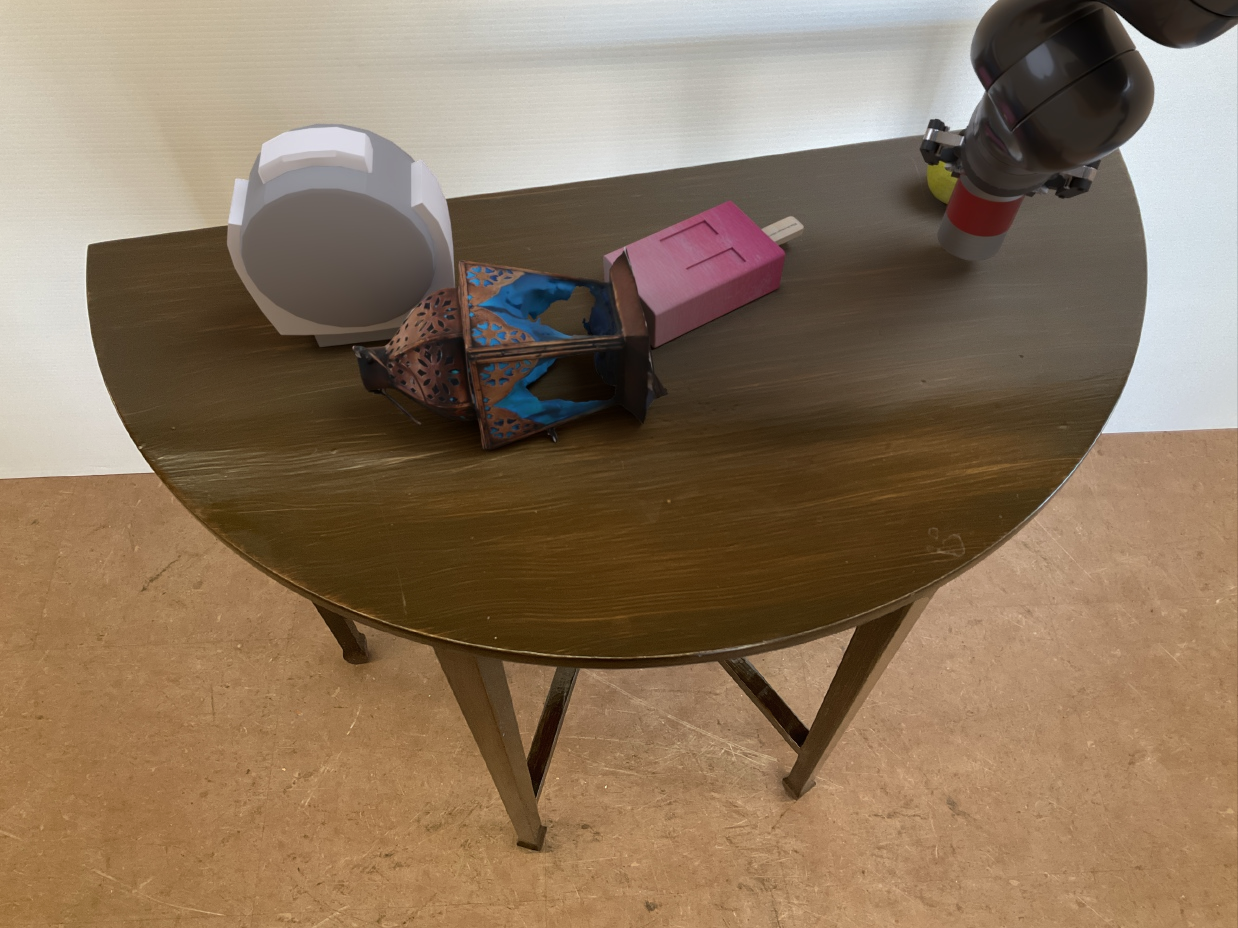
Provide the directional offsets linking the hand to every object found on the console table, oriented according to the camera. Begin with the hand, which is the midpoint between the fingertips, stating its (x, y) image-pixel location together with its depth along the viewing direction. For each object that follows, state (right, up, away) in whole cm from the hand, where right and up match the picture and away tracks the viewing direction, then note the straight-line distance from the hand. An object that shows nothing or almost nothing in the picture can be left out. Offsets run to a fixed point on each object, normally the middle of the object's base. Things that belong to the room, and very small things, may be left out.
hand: (994, 175), depth 79 cm
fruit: (+1, +2, +13) cm, 13 cm away
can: (-1, -5, +4) cm, 7 cm away
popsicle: (-25, -8, +7) cm, 27 cm away
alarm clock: (-58, -13, +4) cm, 60 cm away
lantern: (-44, -20, -1) cm, 48 cm away
